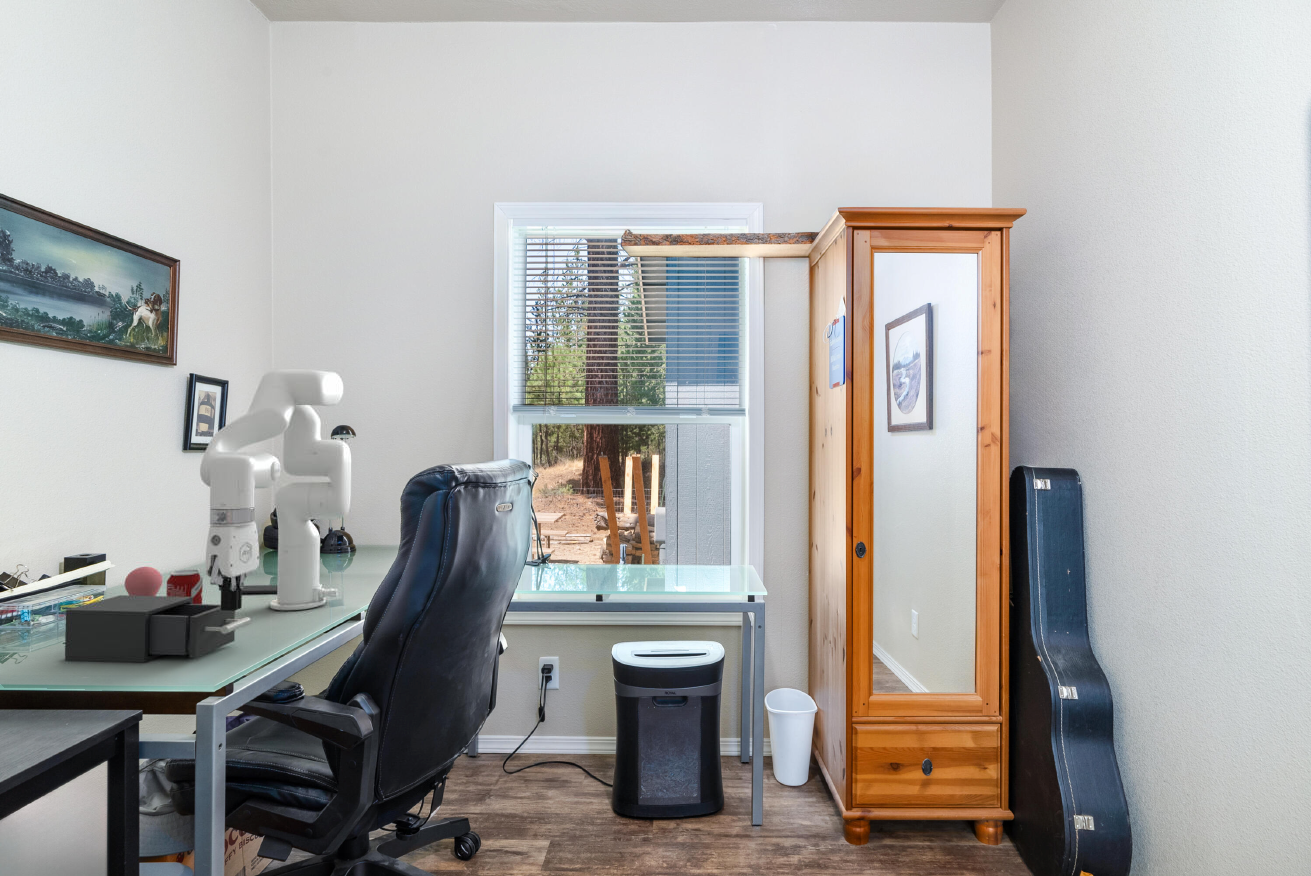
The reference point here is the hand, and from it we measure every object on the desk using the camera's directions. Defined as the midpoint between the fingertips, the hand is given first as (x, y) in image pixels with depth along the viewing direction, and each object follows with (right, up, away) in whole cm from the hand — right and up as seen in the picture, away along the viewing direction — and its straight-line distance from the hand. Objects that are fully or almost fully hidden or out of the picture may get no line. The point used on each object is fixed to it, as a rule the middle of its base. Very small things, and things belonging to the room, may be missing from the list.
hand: (231, 609), depth 136 cm
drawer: (-8, -8, 0) cm, 11 cm away
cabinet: (-20, -9, 0) cm, 22 cm away
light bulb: (-37, -9, +25) cm, 45 cm away
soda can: (-23, -9, +20) cm, 32 cm away
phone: (-25, -9, +55) cm, 61 cm away
